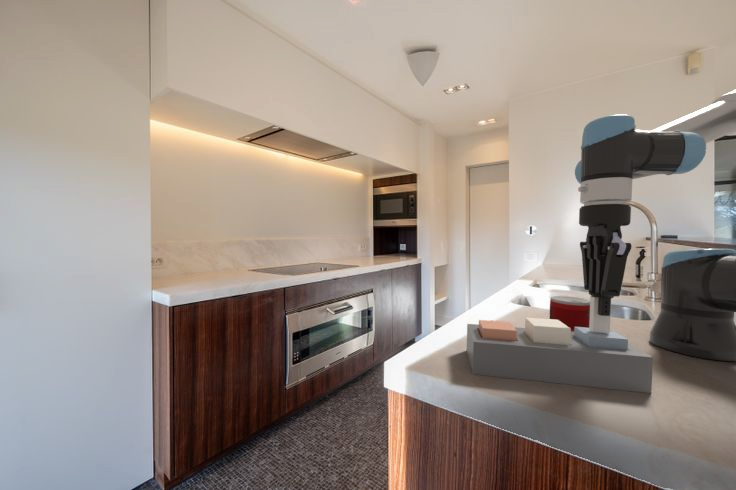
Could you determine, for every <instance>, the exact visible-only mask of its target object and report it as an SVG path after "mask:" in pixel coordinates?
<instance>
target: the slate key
mask: <svg viewBox="0 0 736 490" xmlns="http://www.w3.org/2000/svg"><path fill="white" fill-rule="evenodd" d="M574 337H575V338H576V339H578V340H579V341H580V342H582V343H583V344H585V345H586V346H587V347H596V348H608V349H620V350H628V344H629V339H628V338H627V337H625V336H623V335H621V334H619V333H618V332H615V331H613V330H611V329H610V333H599V332H592V331H591V330H589V328H586V327H574Z"/></svg>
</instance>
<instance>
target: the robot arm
mask: <svg viewBox="0 0 736 490" xmlns="http://www.w3.org/2000/svg"><path fill="white" fill-rule="evenodd" d="M636 127H637V125H636V122H635V118H634V116H632V115H628V114H624V113H622V114H612V115H606V116H602V117H599V118H596V119H593V120H591V121H590V122H588V123H587V124H586V125H585V126H584V128H583V132H582V138H581V146H580V150H581V153H580V154H581V155H580V157H581V158H580V160H579V161H578V163H577V164H576V166H575V168H574V175H575V179H576V181H577V183H579V185H580V186H578V188H577V191H578V192H580V194H579V195H580V197H579V203H580V204H583V205H582V206H581V207H580V208H579V210H578V211H579V213H578V214H579V216H578V224H579V225H580V226H582V227H587V228H588V230H587V233H586V239H585V241H580V243H579V248H580V252H581V260H582V261H581V262H582V273H583V274H582V276H583V288H584V291H588V295H590V297H589V301H590V321H589V330H591V331H592V332H599V333H610V330H611V314H612V313H611V311H612V310H611V309H612V299H613V298H614V297H617V298H618V297H620V296H621V292H622V285H623V281H624V278H625V277H624V275H625V271H626V264H627V260H628V256H629V254H630V252H631V250H632V246H633V245H632V244H631V242H624V241H623V240H622V238H623V233H622V230H621V227H626V226H629V225H631V219H632V206H631V205H630V204H628V203H629V202H631V201H632V197H633V196H632V195H633V180H634V179H635V180H636V179H641V178H645V177H650V176H657V175H666V176H671V175H682V174H686V173H689V172H691V171H693V170H694V169H696V168H697V167H698V166H699V165H700V164H701V163H702V162H703V160H704V158H705V156H706V153H707V151H706V150H707V144H708V143H710V142H714V141H715V140H718V139H720V138H723V137H727V136H729V137H731V136H736V89H734V90H732V91H730V92H728V93H725V94H723V95H721V96H719V97H717V98H716V99H714V101H712V103H710V105H708V106H706V107H703V108H701V109H699V110H697V111H694V112H692V113H689V114H687V115H684V116H682V117H680V118H678V119H675V120H673V121H671V122H670V121H669V122H667V123H666V124H663V125H661V126H658V127H657V128H654V129H651V130H641V129H636ZM660 285H661V286H660V287H661V289H660V290H661V291H660V292H661V293H660V311H659V314H658V316H657V318H656V320H655V321H654V323H653V326H652V328H651V329H650V332H649V342H650V343H651V344H653V345H655V346H657V347H659V348H661V349H665V350H667V351H671V352H674V353H679V354H682V355H686V356H690V357H696V358H700V359H707V360H715V361H723V362H736V323H735V313H736V249H733V248H703V249H702V248H699V249H695V248H694V249H684V250H673V251H669V252H667V253H665V255H664V256H663V260H662V266H661V283H660Z"/></svg>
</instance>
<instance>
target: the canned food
mask: <svg viewBox="0 0 736 490" xmlns="http://www.w3.org/2000/svg"><path fill="white" fill-rule="evenodd" d="M549 319H555V320H559V321H561V322H562V323H563V324H565V325H566V326H568V327H569V328H571V332H574V327H586V328H589V321H590V299H589V300H588V299H586V298H582V297H581V298H580V297H576V296H575V297H574V296H566V295H560V296H559V295H554V296H551V297H550V299H549Z"/></svg>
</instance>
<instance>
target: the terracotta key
mask: <svg viewBox="0 0 736 490" xmlns="http://www.w3.org/2000/svg"><path fill="white" fill-rule="evenodd" d="M478 325H479V334H480V336H481V338H488V339H500V340H512V341H516V339H517V330H516V329H515V328H514V327H515V326H513V324H512V323H511V322H510V321H498V320H485V319H478Z"/></svg>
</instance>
